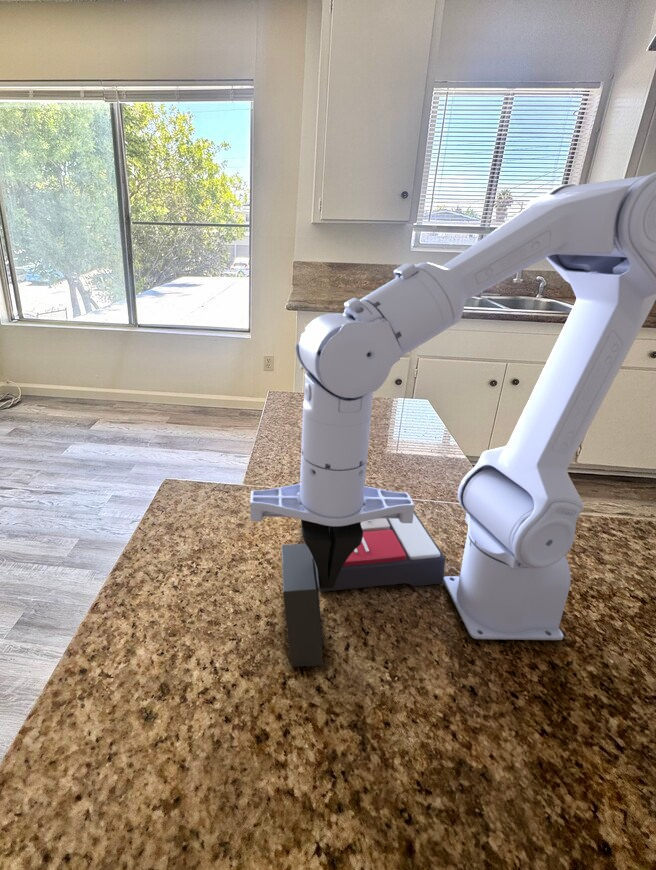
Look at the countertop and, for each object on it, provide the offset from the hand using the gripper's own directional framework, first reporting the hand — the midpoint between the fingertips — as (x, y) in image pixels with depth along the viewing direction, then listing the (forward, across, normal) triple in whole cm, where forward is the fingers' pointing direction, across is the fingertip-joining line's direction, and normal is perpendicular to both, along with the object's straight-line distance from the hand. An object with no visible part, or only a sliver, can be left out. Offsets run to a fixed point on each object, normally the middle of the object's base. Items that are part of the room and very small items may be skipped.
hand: (325, 580), depth 40 cm
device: (+7, +2, 0) cm, 8 cm away
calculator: (+8, -7, -12) cm, 16 cm away
